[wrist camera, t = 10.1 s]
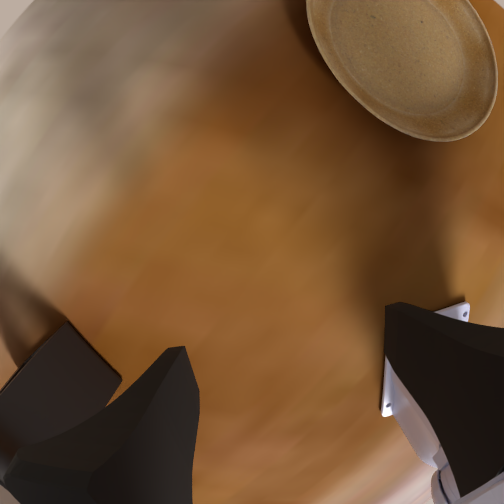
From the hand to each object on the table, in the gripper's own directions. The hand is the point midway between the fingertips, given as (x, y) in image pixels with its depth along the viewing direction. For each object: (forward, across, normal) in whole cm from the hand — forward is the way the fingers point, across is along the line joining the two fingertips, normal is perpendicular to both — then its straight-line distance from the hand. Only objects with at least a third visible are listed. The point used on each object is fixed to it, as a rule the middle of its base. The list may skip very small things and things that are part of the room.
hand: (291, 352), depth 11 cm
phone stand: (+10, +17, +6) cm, 20 cm away
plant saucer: (+10, -12, -14) cm, 21 cm away
